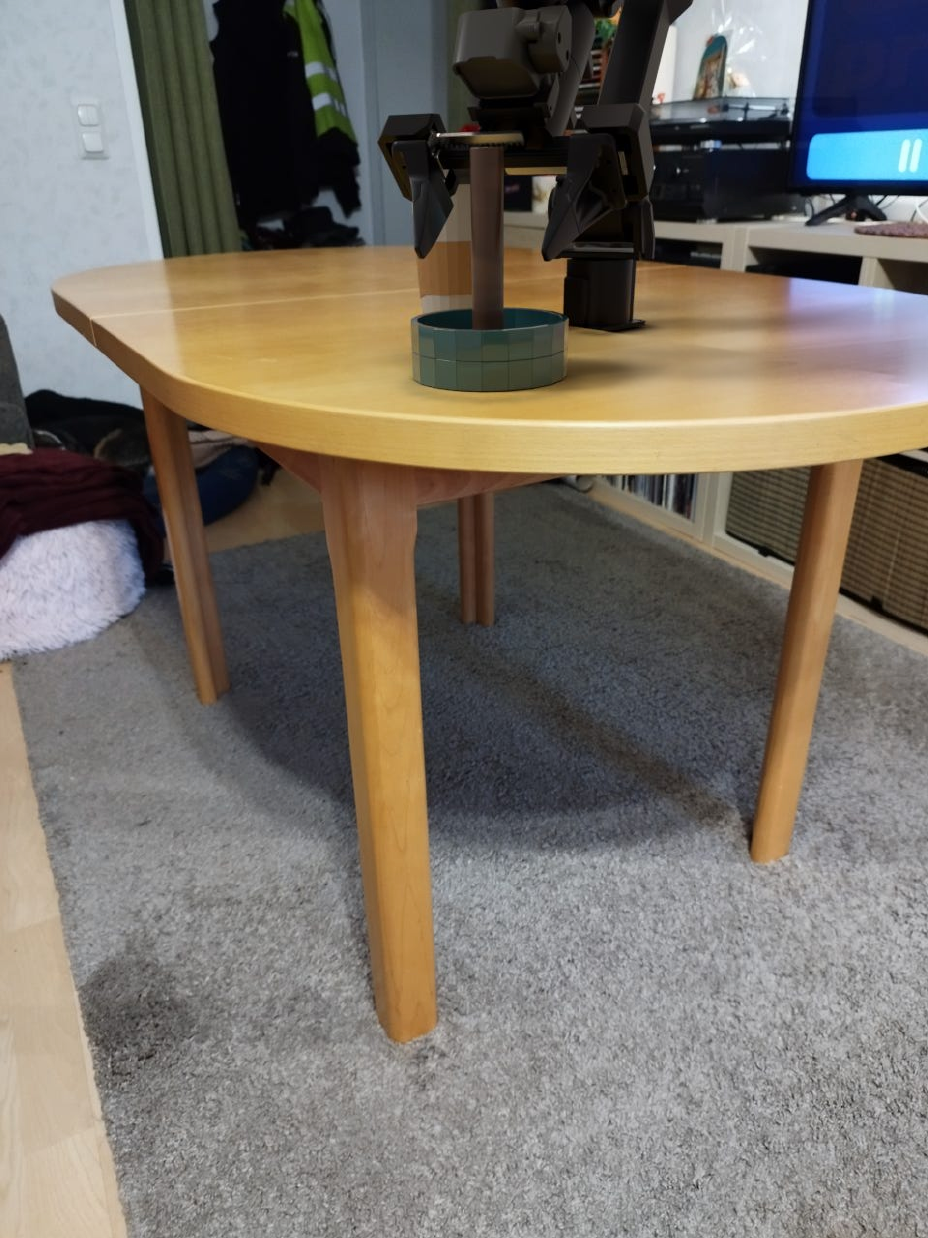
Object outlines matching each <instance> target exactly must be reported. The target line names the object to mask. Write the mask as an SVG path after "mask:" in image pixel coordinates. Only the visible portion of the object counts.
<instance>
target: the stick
mask: <svg viewBox="0 0 928 1238" xmlns="http://www.w3.org/2000/svg"><path fill="white" fill-rule="evenodd" d="M504 177H505V176H504V148H503V147H472V148H470V203H471V269H472V330H494V329H504V307H505V304H504V303H505V302H504V300H505V299H504V297H505V295H504V292H505V291H504V289H505V286H504V285H505V280H504V279H505V277H504V276H505V272H504V271H505V270H504V268H505V267H504V266H505V264H504V263H505V262H504V259H505V258H504V255H505V254H504V253H505V250H504V248H505V246H504V244H505V242H504V238H505V235H504V234H505V232H504V230H505V229H504V227H505V225H504V215H505V214H504V211H505V210H504V208H505V207H504V206H505V203H504V200H505V199H504V198H505V197H504V196H505V194H504V193H505V191H504V190H505V187H504V186H505V185H504V184H505V183H504V181H505V180H504V179H505V178H504Z"/></svg>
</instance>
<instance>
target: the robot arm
mask: <svg viewBox="0 0 928 1238" xmlns="http://www.w3.org/2000/svg"><path fill="white" fill-rule="evenodd" d="M495 2H496V5H497V8H492V9H481V10H480V9H479V10H470V11H464V12H462V13H461V15H459V19H458V25H457V30H456V31H457V32H456V38H455V45H454V52H453V58H452V65H451V70H452V72H453V73H454V75H455V76H456V77H457V76H458V77H459V78H460V81H462V83H463V84H464V85H465V87H466V89H467V90H468V91H469V93H470V95H469V98H468V101H467V103H466V110H467V112H468V115H469V117H470V122H478V125H479V128H478V131H467V132H466V131H465V132H464V131H463V132H447V130H446V127H445V124H444V122H443V120H442V116H441V114H440V113H431V112H430V113H428V112H427V113H410V114H409V113H408V114H391V115H390V114H389V115H388V116H387V117H386V120H385V122H384V124H383V126H382V129H381V132H380V134H379V137H378V138H377V139H378V140H377V143H376V144H377V145H378V148H379V150H380V151H381V154H382V156H383V158H384V160H385V163H386V164H387V166H388V168H389V171H390V173H391V174H392V176H393V179H394V180H395V183H396V184H397V187H398V189H399V191H400V193H401V195H402V197H403V198H405V199H406V200H407V201H409V202H410V203H411V202H412V203H411V205H412V204H413V213H412V231H413V232H412V233H413V249H414V252H415V255H416V254H417V256H418V258H419V259H425V258H426V256H427V255H428V253H429V252H430V251H431V249H432V248H433V246H434V244H435V242H436V240H437V238H438V236H439V234H440V232H441V231H442V229H443V227H444V225H445V223H446V221H447V219H448V217H449V215H450V213H451V211H452V209H453V207H454V204H453V202H452V200H451V197H452V196H453V195H455V194H456V191H457V188H458V185H459V169H470V148H472V147H503V148H504V177H517V176H518V177H523V176H555V184H554V187H552V188H551V190H550V193H549V196H548V202H547V220H548V223H547V225H546V228H545V230H544V235H543V239H542V244H541V250H540V253H541V257H542V259H543V262H547V263H548V262H549V263H550V262H552V261H553V260H561V259H566V273H565V274H566V275H565V276H564V278H563V302H562V303H563V304H562V314H565V315H566V316H567V317H568V318H569V325H568V327H575V328H581V329H587V330H594V331H601V332H613V331H618V330H619V331H620V330H625V329H629V328H630V329H631V328H637V327H642V326H646V319H640V318H634V309H635V295H636V279H637V264H638V261H639V262H641V261H645V260H654V259H655V249H656V230H655V221H654V210H653V204H652V202H651V201H650V195H649V192H650V189H651V185H652V183H653V179H654V173H655V157H654V152H653V145H652V144H653V143H652V138H651V131H650V125H649V124H650V123H649V118H648V115H649V111H650V107H651V101H652V99H653V96H654V90H655V87H656V82H657V79H658V75H659V70H660V66H661V63H662V58H663V54H664V49H665V45H666V42H667V37H668V33H669V29H670V26H672V24H673V23H674V22H676V21H677V20H678V19H679V18H680V17H681V16H682V15H683V14H684V13H685V12H687V11H688V9H689V8H690V7H691V6H693V3H694V0H495ZM619 10H620V13H619V17H618V21H617V25H616V28H615V32H614V36H613V40H612V44H611V47H610V52H609V54H608V55H609V56H608V60H607V64H606V67H605V72H604V74H603V75H604V76H603V80H602V83H601V87H600V91H599V95H598V99H597V103H596V104H593V105H591V104H590V105H583V107H582V110H581V113H580V116H579V122H580V127H582V129H583V130H585V132H586V133H576V134H570V135H565V132H566V131H574V130H575V127H576V125H577V121H578V116H577V111H576V107H575V102H576V98H577V95H578V92H579V89H580V86H581V82H582V81H586V80H592V79H593V77H594V60H593V56H592V48H593V45H594V42H595V40H596V32H597V31H596V20H605V19H613V18H614V17H616V15H617V14H618V12H619ZM576 243H581V244H584V243H585V244H587V243H588V244H591V243H593V244H632V245H633V246H632V247H575V244H576Z"/></svg>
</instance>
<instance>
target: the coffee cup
mask: <svg viewBox="0 0 928 1238" xmlns="http://www.w3.org/2000/svg"><path fill="white" fill-rule="evenodd" d="M451 200H452V202H453V204H454V207H453V209H452V211H451V213H450V215H449V217H448V219H447V221H446V223H445V225H444V227H443V229H442V231H441V232H440V234H439V236H438V238H437V240H436V242H435V244H434V246H433V248H432V249H431V251H430V252H429V253H428V255H427V256H426V258H425V259H419V258H418V256H417V254H416V253H415V260H416V271H417V279H418V280H417V281H418V289H419V297H420V301H421V310H422V314H425V313H430V312H435V311H443V310H452V309H464V308H472V269H471V203H470V169H459V185H458V188H457V191H456V194H455V195H453V196H452V197H451ZM410 204H411V212H412V214H413V204H412V202H411V201H410Z"/></svg>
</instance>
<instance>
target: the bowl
mask: <svg viewBox="0 0 928 1238" xmlns="http://www.w3.org/2000/svg"><path fill="white" fill-rule="evenodd" d="M568 325H569V318H568V317H567V316H566V315H565V314H563V312H562V313H561V312H559V311H554V310H548V309H542V308H529V307H511V306H510V307H506V306H504V329H494V330H472V308H464V309H452V310H443V311H435V312H430V313H425V314H423V313H420V314H418V315H416V316H414V317H411V318H410V340H411V344H410V345H411V362H412V364H411V365H412V379H413V380H414V381H416V382H417V383H419V384H420V385H424V386H428V387H432V388H436V389H441V390H451V391H459V392H460V391H461V392H508V391H509V392H510V391H517V390H519V391H520V390H529V389H535V388H539V387H545V386H549V385H553V384H555V383H557V382H559V381H562V380H564V378H565V377H566V376H567V375H568V352H569V326H568Z"/></svg>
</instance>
